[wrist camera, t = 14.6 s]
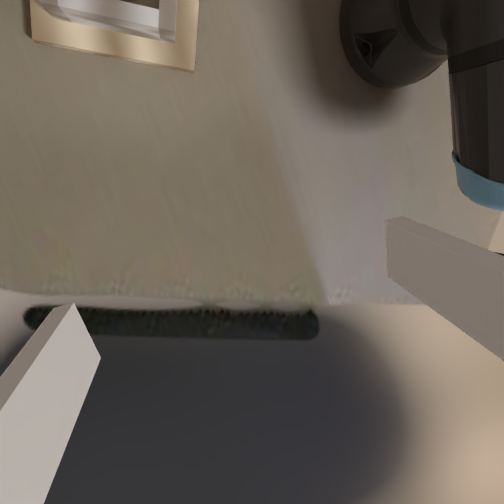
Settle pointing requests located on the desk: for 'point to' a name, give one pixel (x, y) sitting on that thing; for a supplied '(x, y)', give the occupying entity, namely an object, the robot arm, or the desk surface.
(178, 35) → the collar block
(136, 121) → the desk surface
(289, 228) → the desk surface
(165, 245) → the desk surface
